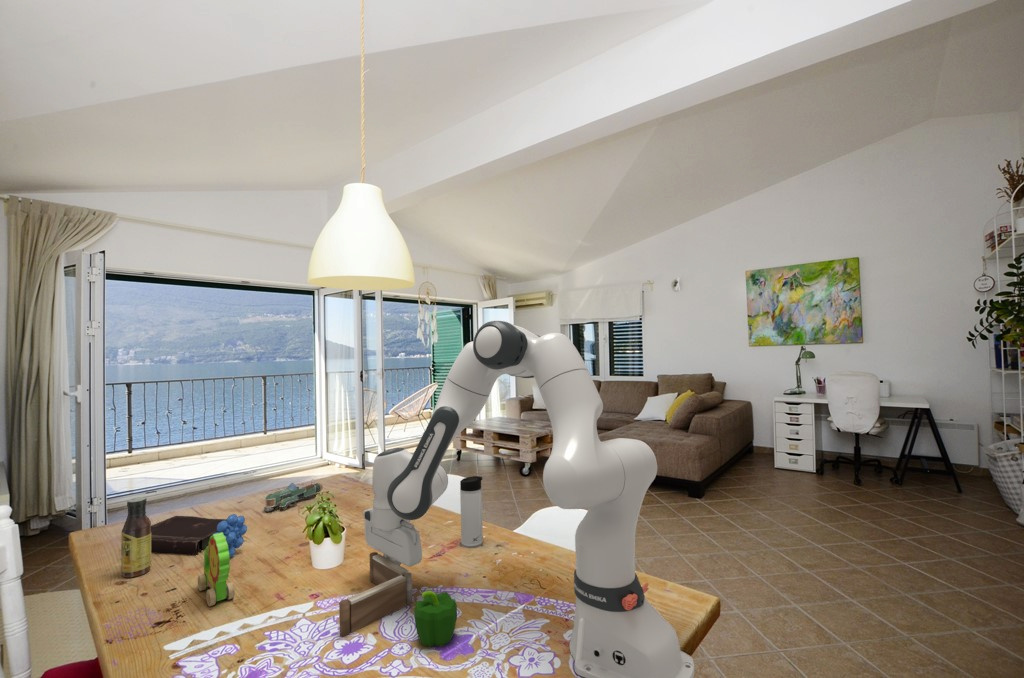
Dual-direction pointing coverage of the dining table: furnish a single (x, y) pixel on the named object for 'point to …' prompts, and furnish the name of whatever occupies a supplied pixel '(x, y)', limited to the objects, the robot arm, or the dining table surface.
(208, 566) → the toy lion
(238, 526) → the grapes
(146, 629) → the dining table surface
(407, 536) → the robot arm
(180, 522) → the diary
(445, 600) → the bell pepper
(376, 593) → the fixed fence
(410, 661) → the dining table surface
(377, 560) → the hinged panel
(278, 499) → the hoverbike
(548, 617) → the dining table surface
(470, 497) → the travel mug
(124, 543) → the sauce bottle
